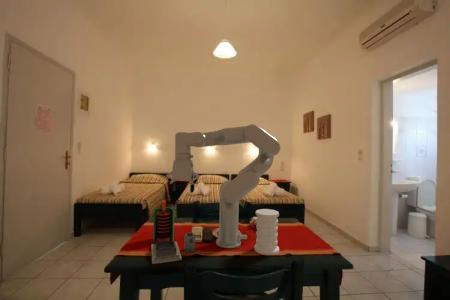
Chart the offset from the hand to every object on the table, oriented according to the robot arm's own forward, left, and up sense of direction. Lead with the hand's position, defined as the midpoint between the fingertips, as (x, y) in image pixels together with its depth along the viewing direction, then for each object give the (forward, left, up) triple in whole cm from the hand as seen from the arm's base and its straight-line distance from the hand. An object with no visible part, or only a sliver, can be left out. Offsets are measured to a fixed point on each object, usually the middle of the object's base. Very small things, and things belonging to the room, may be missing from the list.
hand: (182, 191), depth 116 cm
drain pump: (-3, +7, -26) cm, 27 cm away
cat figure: (-48, -9, -27) cm, 55 cm away
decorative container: (-38, +17, -26) cm, 49 cm away
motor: (+8, -9, -26) cm, 29 cm away
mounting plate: (+8, +7, -26) cm, 28 cm away
